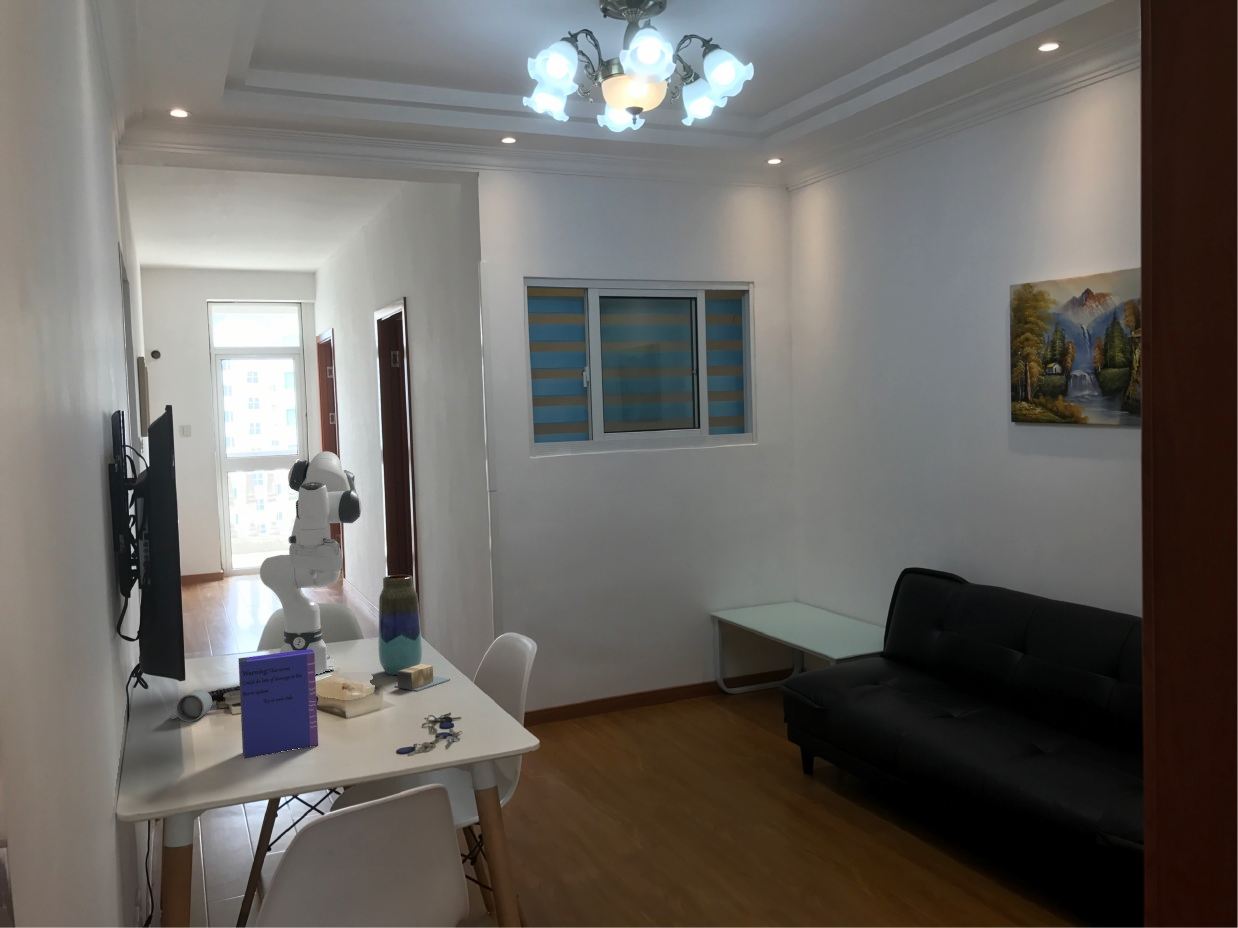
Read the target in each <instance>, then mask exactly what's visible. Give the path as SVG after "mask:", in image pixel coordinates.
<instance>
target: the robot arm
mask: <svg viewBox="0 0 1238 928" xmlns="http://www.w3.org/2000/svg"><path fill="white" fill-rule="evenodd" d="M287 481H288V486H289V487H290V489H291V490H293V491H295V492H298V499H297V500H296V501H295V509H296V510H295V514H296V515H295V517H294V518H295V519H294V523H293V527H292V530H291V531H292V532H291V535H289V536H288V543H289V544H290V545H289V549H288V551H289V552H288V553H289V554H279V555H274V556H270V557H266V558H265V559H264V560H263V562H262V563H261V565H260V569H259V576H260V580H261V582H262V583H263V584H264V586H266V587H267V588H268V589H270V590H271V591H272V592H273V593H274V594H275V595H276V597H277V598H278V600H279V602H280V603H281V606H282V607H281V608H282V609H283V610H282V611H283V619H284V631H283V642H284V644H283V645H282V646H281V647H280V649H279V653H284V652H292V651H299V650H307V649H312V650H313V651H314V654H315V676H317V675H316V674H318V675H321V674H320V673H322V674H324V673H323V672H325V671H329V670H333V669H334V670H335V659H334V657H330V656H329V655H328V647H327V644H326V642H325V641H324V640H323V638H324V637H323V628H322V625H321V610H320V609H321V608H320V606H319V604H318V602H316V600H314V599H313V598H310V597H308V596H307V595H306V594H305V593H304V592H303V590H302V589H307V588H308V589H312V588H314V589H316V588H317V589H318V588H323V587H324V588H325V587H329V586H332V585H335V584H336V583H337V582H338V580H339V579H340V577H341V572H342V569H343V567H344V565H343V556H342V551H341V548H340V543H338V542H337V540H336V539H333V538H331V537H332V535H331V525H330V524H354V523H355V522H356V521H357V520H358V519H359V518H360V517H361V514H362V502H361V498H360V497H359V494H358V493H357V488H356V480H355V475H354V473H353V472H351V471H350V470H349V471H348V470H346V469H344V470H343V467H342V462H341V460H340V458H339V457H338V455H337V454H335V453H334V452H331V451H328V450H327V451H321V452H318V453H317V454H316V455H314V457H313V458H312V459H311V461H308V460H307V459H304V460H301V461H300V460H299V461H297V462H294V464H293V465H292V466H291V468H290V469H289V471H288V474H287ZM325 673H326V672H325Z"/></svg>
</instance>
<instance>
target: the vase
mask: <svg viewBox="0 0 1238 928" xmlns="http://www.w3.org/2000/svg"><path fill="white" fill-rule="evenodd" d="M413 582H414V581H413V576H412V575H410V574H396V575H395V574H394V575H387V576H384V577H383V578H382V590H381V591H380V594H379V597H378V598H379V599H378V638H377V639H378V648H377V649H378V659H379V664H380V666H381V667H382V669H383V670H384V672H385V673H386V674H388V675H390V676H391V675H392V676H397V671H399V670H403V669H406V668H409V667H413V666H416V665H419V664H421V662H422V657H423V643H422V642H423V638H422V628H421V617H420V608H419V607H420V606H419V598H418V593H417V591H416V589H415V588H414V583H413Z"/></svg>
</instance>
